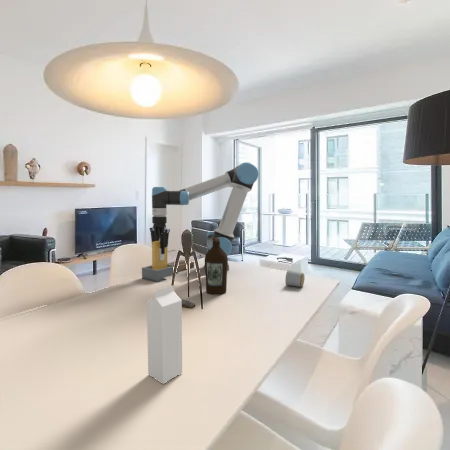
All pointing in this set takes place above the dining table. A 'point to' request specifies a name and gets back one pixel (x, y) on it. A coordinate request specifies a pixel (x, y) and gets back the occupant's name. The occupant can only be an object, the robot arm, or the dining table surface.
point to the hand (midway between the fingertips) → (159, 259)
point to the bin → (157, 273)
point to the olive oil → (216, 269)
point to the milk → (164, 334)
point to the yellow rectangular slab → (156, 262)
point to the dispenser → (183, 265)
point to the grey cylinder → (294, 278)
